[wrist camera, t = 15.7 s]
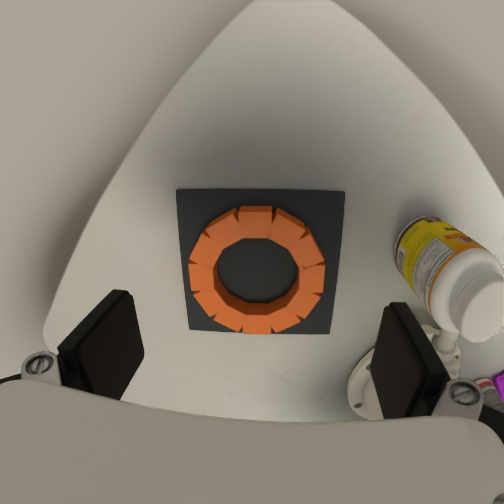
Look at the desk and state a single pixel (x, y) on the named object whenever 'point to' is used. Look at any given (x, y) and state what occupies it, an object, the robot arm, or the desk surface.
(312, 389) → the desk surface
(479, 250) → the supplement bottle
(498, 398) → the pill bottle
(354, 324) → the desk surface
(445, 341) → the robot arm
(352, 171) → the desk surface
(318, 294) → the ring
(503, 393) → the purple and orange tool
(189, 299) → the mat
